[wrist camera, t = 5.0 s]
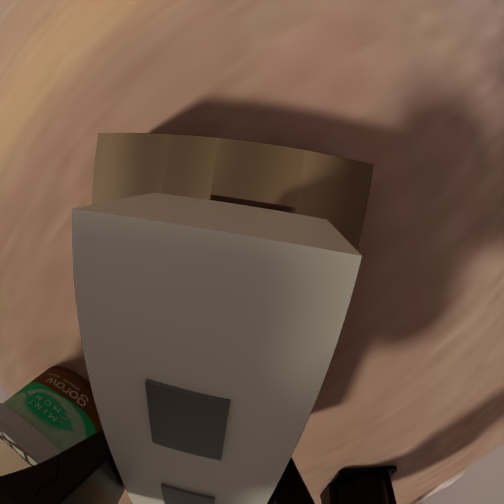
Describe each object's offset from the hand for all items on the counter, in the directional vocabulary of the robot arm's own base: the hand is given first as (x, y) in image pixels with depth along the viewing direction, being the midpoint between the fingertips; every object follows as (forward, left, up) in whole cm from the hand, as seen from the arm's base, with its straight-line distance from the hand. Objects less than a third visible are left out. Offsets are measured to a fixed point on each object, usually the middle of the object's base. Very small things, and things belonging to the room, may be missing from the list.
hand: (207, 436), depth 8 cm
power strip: (0, 0, -4) cm, 4 cm away
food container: (+15, +12, -10) cm, 21 cm away
